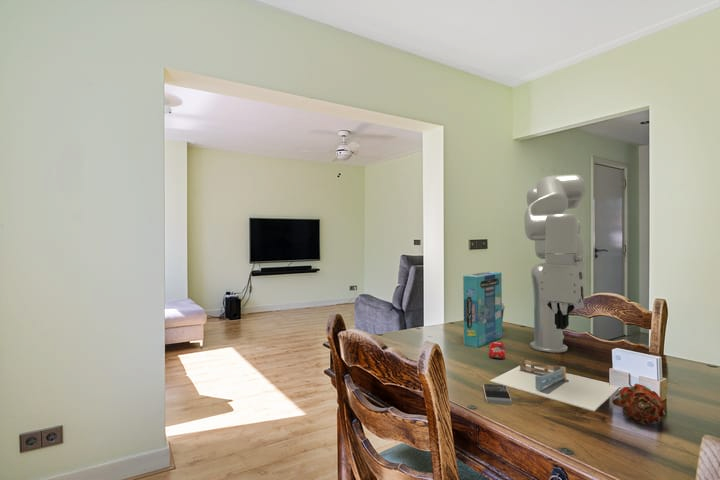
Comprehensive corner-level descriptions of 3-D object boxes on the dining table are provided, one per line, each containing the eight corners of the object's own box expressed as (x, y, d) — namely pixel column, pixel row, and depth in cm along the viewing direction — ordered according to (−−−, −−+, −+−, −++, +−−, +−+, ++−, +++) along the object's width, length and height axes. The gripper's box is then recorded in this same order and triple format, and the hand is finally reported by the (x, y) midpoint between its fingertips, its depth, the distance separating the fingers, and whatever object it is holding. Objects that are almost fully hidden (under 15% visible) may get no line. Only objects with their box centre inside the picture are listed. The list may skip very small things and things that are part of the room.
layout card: (524, 364, 127) (524, 363, 127) (621, 386, 107) (621, 385, 107) (489, 381, 112) (489, 380, 112) (594, 411, 92) (594, 410, 92)
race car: (505, 361, 131) (505, 349, 131) (488, 359, 133) (488, 348, 133) (505, 350, 143) (505, 339, 143) (490, 349, 145) (490, 338, 145)
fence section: (520, 371, 120) (520, 358, 120) (522, 370, 121) (521, 357, 121) (558, 381, 112) (558, 367, 112) (559, 379, 113) (559, 366, 113)
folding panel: (561, 377, 112) (561, 366, 112) (566, 379, 111) (566, 367, 111) (535, 388, 105) (535, 376, 105) (540, 390, 103) (540, 377, 103)
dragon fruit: (653, 441, 81) (623, 423, 93) (687, 417, 81) (652, 402, 93) (625, 406, 83) (598, 392, 95) (657, 382, 83) (626, 372, 95)
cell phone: (506, 390, 107) (506, 385, 107) (512, 407, 96) (512, 401, 96) (482, 388, 108) (482, 383, 108) (486, 405, 98) (486, 399, 98)
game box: (488, 335, 165) (487, 271, 165) (502, 337, 160) (502, 272, 160) (463, 344, 150) (462, 275, 150) (478, 348, 146) (477, 276, 146)
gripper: (597, 260, 101) (597, 330, 101) (538, 258, 112) (539, 321, 112) (587, 261, 96) (587, 336, 96) (526, 259, 107) (527, 326, 107)
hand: (561, 328), depth 104 cm, fingers closed
